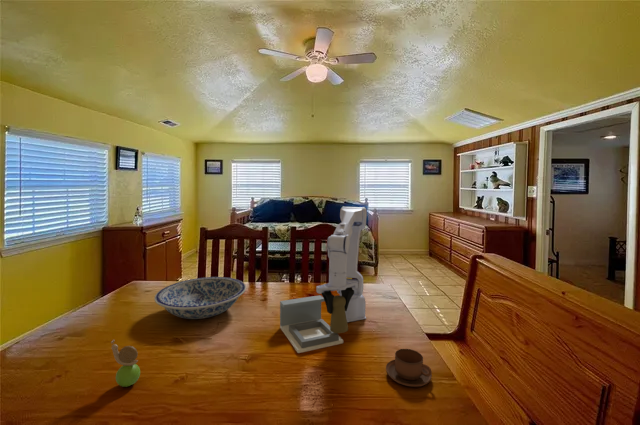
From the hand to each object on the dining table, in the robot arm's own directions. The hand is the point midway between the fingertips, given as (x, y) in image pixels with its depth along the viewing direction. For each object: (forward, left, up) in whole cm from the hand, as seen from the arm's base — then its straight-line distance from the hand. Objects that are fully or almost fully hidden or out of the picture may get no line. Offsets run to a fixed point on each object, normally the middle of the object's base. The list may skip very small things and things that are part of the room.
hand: (337, 311), depth 103 cm
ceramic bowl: (+40, -42, -11) cm, 59 cm away
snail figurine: (+61, -1, -11) cm, 61 cm away
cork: (0, +1, -6) cm, 6 cm away
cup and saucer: (-9, +25, -11) cm, 29 cm away
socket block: (+7, -7, -10) cm, 14 cm away
